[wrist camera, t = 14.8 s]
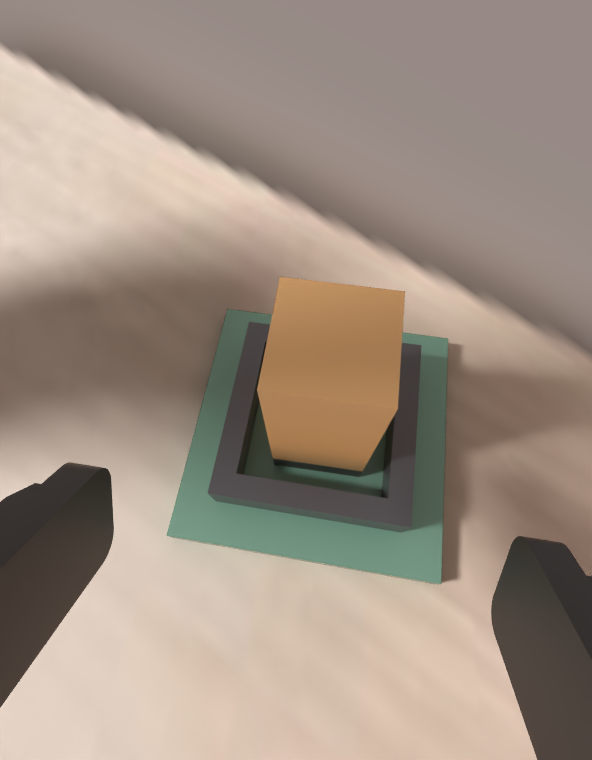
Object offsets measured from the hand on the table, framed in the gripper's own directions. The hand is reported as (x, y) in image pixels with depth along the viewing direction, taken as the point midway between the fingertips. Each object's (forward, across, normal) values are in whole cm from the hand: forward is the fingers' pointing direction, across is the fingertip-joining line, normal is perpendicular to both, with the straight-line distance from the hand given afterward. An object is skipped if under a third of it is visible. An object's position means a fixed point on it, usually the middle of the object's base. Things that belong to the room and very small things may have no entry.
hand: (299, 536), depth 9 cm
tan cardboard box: (+12, 0, +4) cm, 13 cm away
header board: (+13, 0, +4) cm, 14 cm away
